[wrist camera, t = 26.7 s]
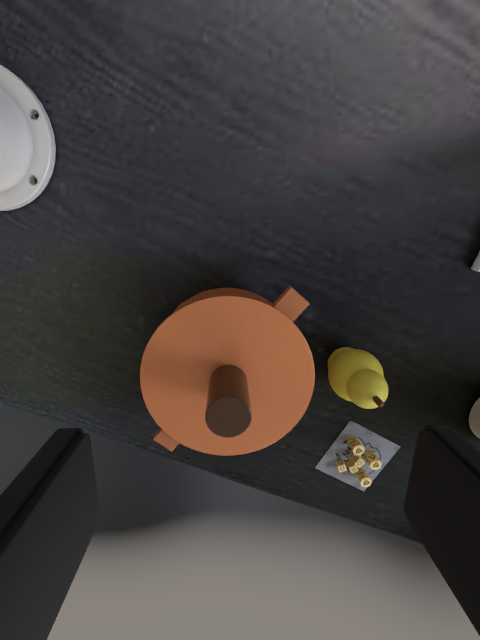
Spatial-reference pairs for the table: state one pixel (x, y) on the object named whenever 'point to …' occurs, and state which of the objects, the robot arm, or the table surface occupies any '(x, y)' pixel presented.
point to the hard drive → (476, 263)
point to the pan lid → (227, 375)
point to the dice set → (357, 456)
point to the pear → (357, 377)
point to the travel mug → (475, 418)
